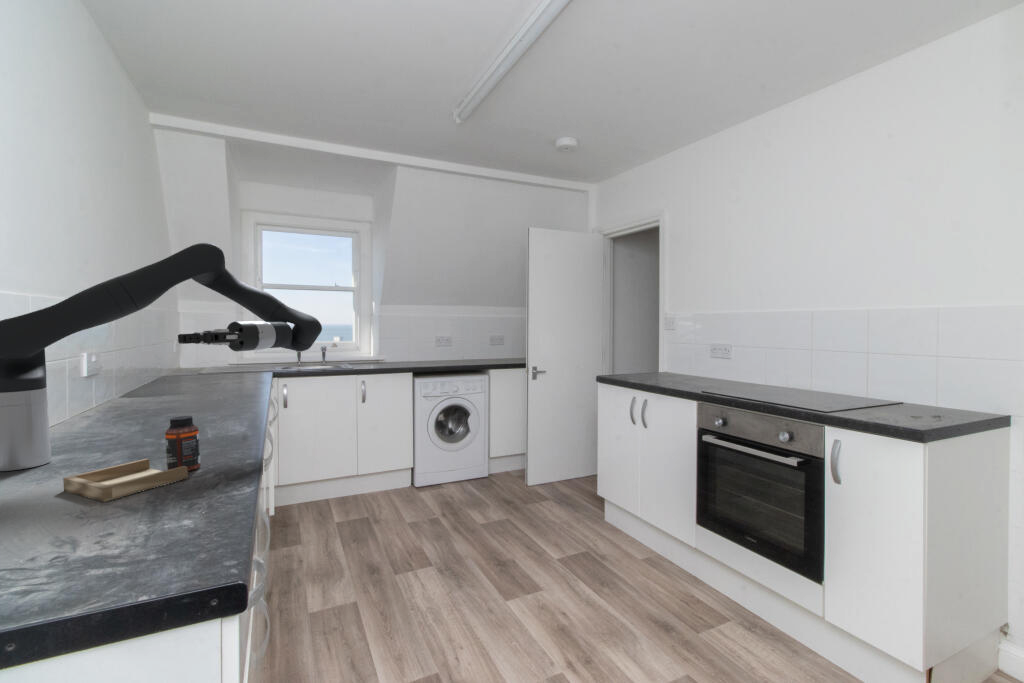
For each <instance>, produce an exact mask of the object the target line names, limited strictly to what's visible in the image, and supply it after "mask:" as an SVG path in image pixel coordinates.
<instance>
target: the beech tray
mask: <svg viewBox="0 0 1024 683" xmlns="http://www.w3.org/2000/svg"><path fill="white" fill-rule="evenodd" d="M188 474H189V471H187V466H181V467H177V468H174V469H170V470H168V469H166V470H159V469H154V468H150V458H142V459H139V460H135V461H134V460H133V461H130V462H125V463H121V464H118V465H112V466H109V467H104V468H103V467H102V468H100V469H96V470H92V471H87V472H82V473H79V474H74V475H70V476H65V477H63V478H62V481H63V482H62V483H63V484H62V485H63V491H64V492H67V493H70V494H74V495H76V494H77V496H80V497H83V496H84V498H87V497H88V498H87V499H90V498H92V499H91V500H94V499H96V500H95V501H97V500H99V502H101V501H102V503H108V502H111V501H110V500H112V501H114V500H113V499H115V500H118V499H117V498H119V499H121V498H120V497H122V498H124V497H123V496H126V495H129V496H131V495H130V494H133V493H136V492H139V491H143V490H147V489H150V490H152V489H151V488H154V487H157V486H161V485H164V484H168V483H171V484H173V483H172V482H175V481H179V482H181V481H180V480H182V481H184V480H183V479H186V480H188V479H189V475H188ZM187 478H188V479H187ZM175 483H176V482H175ZM168 485H169V484H168ZM164 486H165V485H164ZM161 487H162V486H161ZM157 488H158V487H157ZM154 489H155V488H154ZM147 491H148V490H147ZM143 492H144V491H143ZM136 494H137V493H136ZM133 495H134V494H133ZM126 497H127V496H126ZM107 501H108V502H107Z"/></svg>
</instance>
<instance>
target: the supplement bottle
mask: <svg viewBox="0 0 1024 683" xmlns="http://www.w3.org/2000/svg"><path fill="white" fill-rule="evenodd" d="M164 435H165V438H164V439H165V450H166V451H165V453H166V468H167V470H170V469H174V468H177V467H181V466H187V471H188V472H192V471H195V470H196V469H197V470H198V469H199V468H200V467H201V450H200V432H199V427H198V426H197V425H195V424H194V419H193V415H181V416H174V417H171V418H169V427H168V428H167V429H166V430H165V433H164ZM194 469H195V470H194ZM191 470H192V471H191Z"/></svg>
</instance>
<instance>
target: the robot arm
mask: <svg viewBox="0 0 1024 683" xmlns="http://www.w3.org/2000/svg"><path fill="white" fill-rule="evenodd" d="M191 279H192V280H193V281H194V282H196V283H197V284H199V285H201V286H204V287H206V288H208V289H210V290H211V291H214V292H216V293H218V294H220V295H222V296H224V297H225V298H228V299H229V300H230V301H233V302H235V303H237V305H240V306H241V307H242V308H245V309H246V310H248V311H249V312H250V313H252V314H253V315H255V316H257V317H258V318H260V319H261V320H262V321H261V320H253V321H252V320H249V321H246V320H242V321H236V320H235V321H232V322H230V323H229V324H228V325H227V327H226V328H216V329H214V330H203V331H202V332H196V331H195V332H193V333H179V334H178V335H177V342H178V344H180V345H182V344H183V345H184V344H186V345H187V344H196V345H200V344H201V345H205V346H228V348H229V349H230V350H231V351H233V352H249V351H261V350H266V349H274V348H275V349H276V348H283V349H287V350H291V351H295V352H305V351H307V350H310V349H311V347H313V345H314V344H315V342H316V340H317V339H318V337H319V336H320V335H321V333H322V330H323V327H322V323H321V322H320V321H319V319H317V317H315V316H312V315H311V314H308V313H304V312H302V311H300V310H297V309H294V308H292V307H290V306H288V305H286V304H285V303H284V302H282V301H281V300H279V299H278V298H276V297H275V296H274V295H272V294H270V293H269V292H267V291H264V290H262V289H260V288H257V287H254V286H252V285H250V284H247V283H245V282H243V281H242V280H240V279H238V278H237V277H236V276H234V274H232V273H231V272H230V271H229V270H228V269H227V268H226V258H225V254H224V251H223V250H222V249H221V247H219V246H218V245H216V244H214V243H210V242H199V243H195V244H192V245H190V246H187V247H186V248H183V249H181V250H179V251H178V252H175V253H174V254H171V255H170V256H168V257H165V258H163V259H161V260H159V261H156V262H154V263H151V264H148V265H145V266H143V267H140V268H138V269H135V270H133V271H130V272H127V273H125V274H121V275H119V276H115V277H113V278H111V279H108V280H105V281H101V282H100V283H96V284H95V285H93V286H91V287H88V288H86V289H83V290H82V291H78V293H74V295H71V296H69V297H68V298H65V299H64V300H62V301H60V302H57V303H56V304H53V305H50V306H48V307H47V306H46V307H44V308H40V309H39V310H35V311H32V312H28V313H25V314H22V315H17V316H14V317H10V318H9V317H8V318H4V319H2V320H1V319H0V472H9V471H17V470H23V469H24V470H26V469H30V468H35V467H39V466H43V465H45V464H48V463H51V462H52V449H51V434H50V420H49V419H50V418H49V417H50V416H49V415H50V414H49V403H48V391H47V390H48V388H47V386H48V385H47V362H46V361H47V360H46V349H47V347H49V346H51V345H53V344H55V343H57V342H59V341H61V340H62V339H65V338H67V337H69V336H71V335H74V334H76V333H78V332H81V331H85V330H89V329H92V328H95V327H99V326H102V325H105V324H108V323H111V322H114V321H117V320H120V319H122V318H124V317H128V316H130V315H132V314H135V313H136V312H138V311H142V310H143V309H145V308H147V307H148V306H150V305H152V304H153V303H154V302H156V301H158V299H159V298H161V297H162V296H163V295H165V293H167V292H168V291H169V290H170V289H172V288H173V287H175V286H177V285H179V284H181V283H183V282H185V281H189V280H191ZM288 323H289V324H288ZM290 324H291V325H293V326H292V327H291V325H290Z"/></svg>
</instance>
